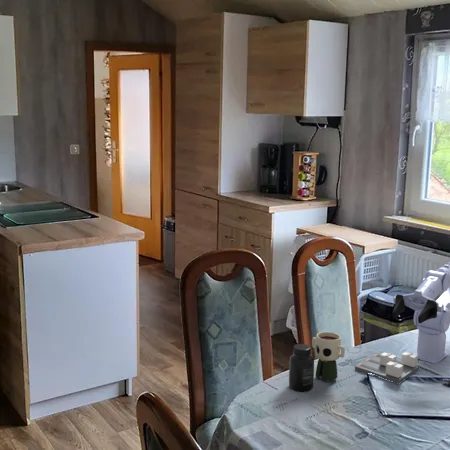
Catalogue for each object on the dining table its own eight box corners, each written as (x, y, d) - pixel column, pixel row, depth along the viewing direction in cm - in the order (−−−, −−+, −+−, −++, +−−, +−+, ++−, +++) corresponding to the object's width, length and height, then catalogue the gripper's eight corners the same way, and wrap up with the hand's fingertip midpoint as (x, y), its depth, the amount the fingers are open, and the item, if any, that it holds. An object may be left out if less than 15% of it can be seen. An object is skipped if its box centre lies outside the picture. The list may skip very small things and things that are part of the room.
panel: (377, 356, 194) (377, 352, 194) (419, 369, 185) (419, 365, 185) (354, 369, 184) (355, 365, 184) (398, 384, 175) (398, 380, 175)
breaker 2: (404, 360, 187) (405, 351, 187) (417, 364, 185) (418, 354, 184) (401, 363, 185) (401, 353, 185) (413, 367, 183) (414, 357, 182)
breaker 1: (389, 370, 180) (390, 360, 179) (402, 375, 177) (403, 364, 177) (385, 373, 178) (386, 363, 177) (398, 377, 175) (399, 367, 175)
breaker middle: (383, 361, 186) (384, 351, 186) (395, 365, 184) (396, 355, 183) (379, 364, 185) (380, 354, 184) (391, 368, 182) (392, 357, 181)
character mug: (303, 376, 179) (305, 333, 176) (317, 369, 184) (320, 327, 182) (335, 388, 172) (337, 344, 169) (349, 380, 177) (351, 337, 174)
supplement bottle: (312, 383, 175) (314, 343, 172) (313, 393, 168) (315, 352, 166) (288, 381, 175) (290, 341, 173) (288, 392, 169) (290, 351, 166)
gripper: (401, 279, 188) (381, 300, 179) (448, 287, 179) (430, 310, 169) (403, 299, 190) (383, 321, 181) (449, 307, 181) (431, 332, 172)
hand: (406, 317), depth 176 cm, fingers open, 7 cm apart
